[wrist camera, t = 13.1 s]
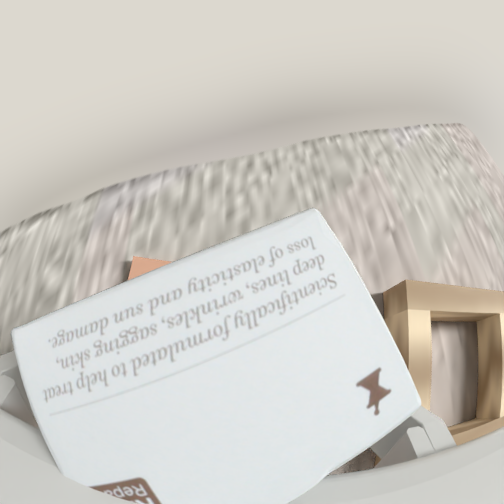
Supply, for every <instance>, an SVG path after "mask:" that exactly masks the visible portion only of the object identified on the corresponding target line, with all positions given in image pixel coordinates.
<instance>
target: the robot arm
mask: <svg viewBox="0 0 504 504" xmlns="http://www.w3.org/2000/svg"><path fill="white" fill-rule="evenodd" d="M34 417H35V416H34V414H33V411H32V408H31V406H30V403H29V400H28V397H27V394H26V391H25V388H24V385H23V381H22V378H21V374H20V371H19V367H18V363H17V359H16V355H15V350H14V351H11V352H9V353H6V354H4V355H1V356H0V504H139V503H135V502H131V501H127V500H124V499H120V498H117V497H114V496H111V495H108V494H106V493H103V492H100V491H97V490H95V489H92V488H90V487H87V486H85V485H82V484H80V483H78V482H76V481H74V480H72V479H70V478H68V477H65V476H64V475H63V474H61V472H60V470H59V468H58V466H57V464H56V462H55V460H54V458H53V456H52V454H51V452H50V450H49V448H48V446H47V444H46V442H45V440H44V437H43V435H42V433H41V431H40V428H39V426H38V424H37V422H36V420H35V419H34ZM370 448H371V449H372V450H373V451H374V452H375V453H376V454H377V455H378V456H379V457H380V458H381V460H380V462H379V463H378V464H377V465H376V466H375V467H374V468H373V469H368V470H362V471H356V472H349V473H341V474H332V475H327V476H325V477H324V478H323V479H322V480H321V481H320V482H319V483H318V484H316V485H315V486H314V487H312V488H311V489H309V490H308V491H306V492H305V493H303V494H302V495H300V496H299V497H297V498H295V499H294V500H292V501H290V502H288V503H286V504H504V426H503V427H501V428H499V429H497V430H495V431H492V432H490V433H488V434H486V435H483V436H481V437H479V438H476V439H474V440H471V441H469V442H466V443H464V444H461V445H458V446H457V445H456V443H455V441H454V439H453V437H452V435H451V434H450V432H449V430H448V428H447V426H446V424H445V423H444V421H443V420H442V419H441V418H439V417H438V416H436V415H435V414H433V413H432V412H430V411H429V410H427V409H426V408H424V407H423V406H420V407H419V409H418V410H417V411H416V412H414V413H413V414H412V415H411V416H410V417H408V418H407V419H406V420H405V421H404V422H402V423H401V424H400V425H398V426H397V427H396V428H395V429H393V430H392V431H391V432H389V433H388V434H387V435H385V436H384V437H383V438H381V439H380V440H379V441H377V442H376V443H374V444H373V445H372V446H370Z"/></svg>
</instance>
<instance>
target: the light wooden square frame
mask: <svg viewBox="0 0 504 504" xmlns="http://www.w3.org/2000/svg"><path fill="white" fill-rule="evenodd" d="M383 301H384V321H385V323H386V325H387V327H388V329H389V331H390V333H391V335H392V337H393V339H394V341H395V343H396V345H397V347H398V349H399V351H400V353H401V355H402V357H403V359H404V362H405V364H406V366H407V369H408V371H409V373H410V375H411V377H412V380H413V382H414V385H415V387H416V389H417V392H418V394H419V396H420V398H421V406H423V407H424V408H426V409H427V410H429V409H430V395H431V368H432V346H431V321H449V322H477V334H478V395H477V409H476V418H475V419H472V420H469V421H466V422H463V423H460V424H456V425H453V426H450V427H447V428H448V430H449V432H450V434H451V435H452V437H453V439H454V441H455V443H456V445H457V446H458V445H461V444H464V443H466V442H469V441H471V440H474V439H476V438H479V437H481V436H483V435H486V434H488V433H490V432H492V431H495V430H497V429H499V428H501V427H503V426H504V291H495V290H487V289H479V288H470V287H462V286H454V285H446V284H438V283H429V282H421V281H413V280H404V281H402V282H401V283H399V284H397V285H396V286H394V287H392V288H390V289H389V290H387V291H385V292H383ZM380 460H381V458H380V457H379V456H378V455H377V454H376V459H375V466H376V465H377V464H378V463H379V462H380ZM375 466H374V467H375Z"/></svg>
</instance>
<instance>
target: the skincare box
mask: <svg viewBox="0 0 504 504" xmlns="http://www.w3.org/2000/svg"><path fill="white" fill-rule="evenodd" d="M11 338H12V342H13V346H14V350H15V355H16V359H17V363H18V367H19V371H20V374H21V378H22V381H23V385H24V388H25V391H26V394H27V397H28V400H29V403H30V406H31V408H32V411H33V414H34V416H35V419H36V421H37V424H38V426H39V428H40V431H41V433H42V435H43V437H44V440H45V442H46V444H47V446H48V448H49V450H50V452H51V454H52V456H53V458H54V460H55V462H56V464H57V466H58V468H59V470H60V472H61V474H63V475H64V476H65V477H68V478H70V479H72V480H74V481H76V482H78V483H80V484H82V485H85V486H87V487H90V488H92V489H95V490H97V491H100V492H103V493H106V494H108V495H111V496H114V497H117V498H120V499H124V500H127V501H131V502H135V503H139V504H286V503H288V502H290V501H292V500H294V499H295V498H297V497H299V496H300V495H302V494H303V493H305V492H306V491H308V490H309V489H311V488H312V487H314V486H315V485H316V484H318V483H319V482H320V481H321V480H322V479H323V478H324V477H325V476H327V475H328V474H329V473H331V472H332V471H334V470H335V469H337V468H339V467H340V466H342V465H343V464H345V463H346V462H348V461H350V460H351V459H353V458H354V457H356V456H357V455H359V454H360V453H362V452H363V451H364V450H366V449H367V448H369V447H370V446H372V445H373V444H374V443H376V442H377V441H379V440H380V439H381V438H383V437H384V436H385V435H387V434H388V433H389V432H391V431H392V430H393V429H395V428H396V427H397V426H398V425H400V424H401V423H402V422H404V421H405V420H406V419H407V418H408V417H410V416H411V415H412V414H413V413H414V412H416V411H417V410H418V409H419V407H420V406H421V398H420V396H419V394H418V392H417V389H416V387H415V385H414V382H413V380H412V377H411V375H410V373H409V371H408V369H407V366H406V364H405V362H404V359H403V357H402V355H401V353H400V351H399V349H398V347H397V345H396V343H395V341H394V339H393V337H392V335H391V333H390V331H389V329H388V327H387V325H386V323H385V321H384V319H383V317H382V315H381V313H380V312H379V310H378V308H377V306H376V304H375V302H374V300H373V299H372V297H371V295H370V293H369V291H368V290H367V288H366V286H365V284H364V282H363V280H362V278H361V276H360V275H359V273H358V272H357V270H356V268H355V266H354V264H353V262H352V261H351V259H350V257H349V256H348V254H347V253H346V251H345V249H344V248H343V246H342V244H341V243H340V241H339V240H338V238H337V237H336V236H335V234H334V233H333V231H332V230H331V228H330V227H329V225H328V224H327V222H326V221H325V219H324V218H323V216H322V215H321V213H320V212H319V211H318V210H317V209H315V208H310V209H307V210H304V211H302V212H299V213H296V214H293V215H291V216H288V217H286V218H283V219H281V220H278V221H275V222H273V223H270V224H268V225H265V226H263V227H260V228H258V229H255V230H252V231H250V232H247V233H245V234H242V235H240V236H237V237H234V238H232V239H229V240H227V241H224V242H222V243H219V244H216V245H214V246H211V247H209V248H206V249H204V250H201V251H199V252H196V253H194V254H191V255H189V256H186V257H184V258H181V259H179V260H176V261H174V262H171V263H169V264H166V265H164V266H161V267H159V268H156V269H154V270H152V271H149V272H147V273H144V274H142V275H139V276H137V277H135V278H132V279H130V280H127V281H125V282H123V283H120V284H118V285H116V286H113V287H111V288H108V289H106V290H104V291H101V292H99V293H97V294H94V295H92V296H90V297H87V298H85V299H82V300H80V301H78V302H75V303H73V304H70V305H68V306H66V307H63V308H61V309H59V310H56V311H54V312H51V313H49V314H47V315H44V316H42V317H40V318H38V319H36V320H34V321H31V322H29V323H27V324H25V325H22V326H20V327H16V328H13V329H12V331H11Z"/></svg>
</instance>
